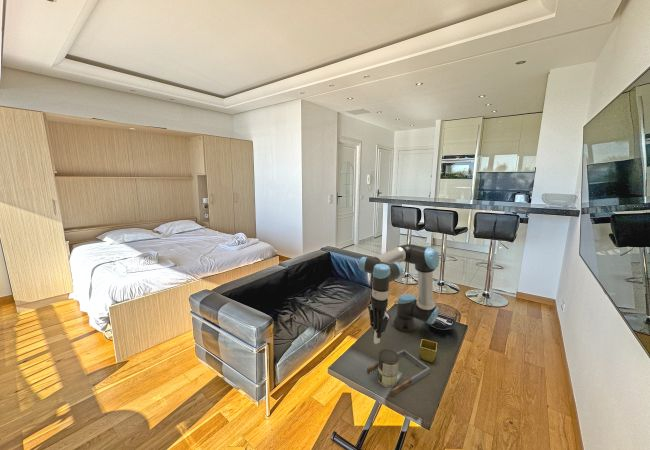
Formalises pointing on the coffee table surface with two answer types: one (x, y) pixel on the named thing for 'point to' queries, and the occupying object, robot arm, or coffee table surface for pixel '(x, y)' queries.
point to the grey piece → (425, 368)
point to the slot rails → (396, 389)
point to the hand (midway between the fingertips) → (376, 342)
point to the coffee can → (388, 367)
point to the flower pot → (428, 350)
